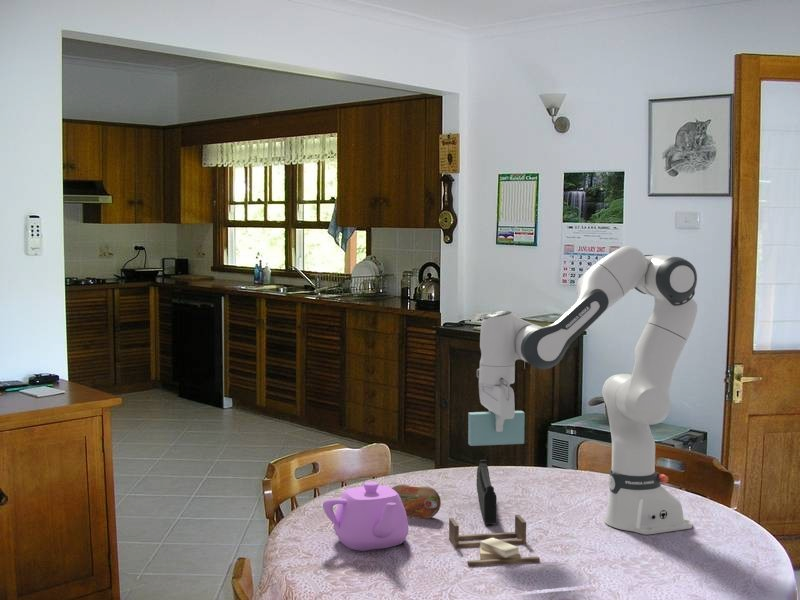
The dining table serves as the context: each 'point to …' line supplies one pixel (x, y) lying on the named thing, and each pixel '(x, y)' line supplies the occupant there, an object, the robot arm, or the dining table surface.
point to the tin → (419, 500)
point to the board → (485, 433)
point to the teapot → (368, 517)
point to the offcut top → (499, 547)
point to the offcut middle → (494, 555)
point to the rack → (519, 534)
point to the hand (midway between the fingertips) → (496, 429)
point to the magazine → (486, 494)
